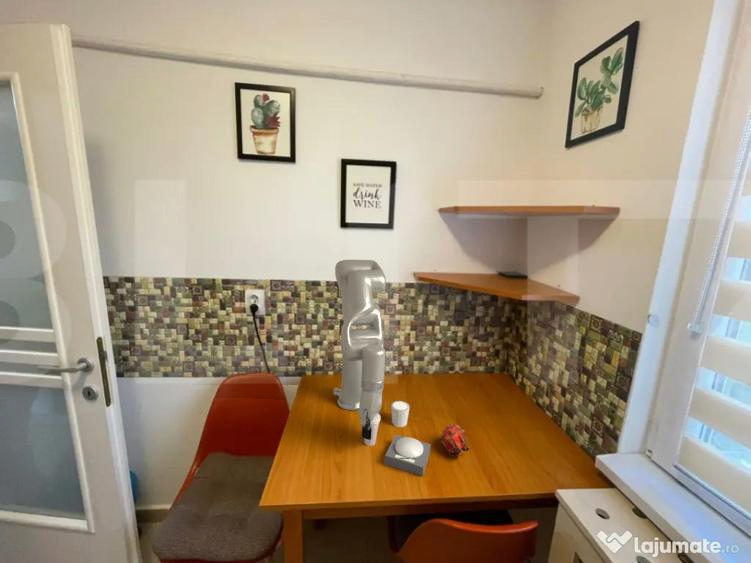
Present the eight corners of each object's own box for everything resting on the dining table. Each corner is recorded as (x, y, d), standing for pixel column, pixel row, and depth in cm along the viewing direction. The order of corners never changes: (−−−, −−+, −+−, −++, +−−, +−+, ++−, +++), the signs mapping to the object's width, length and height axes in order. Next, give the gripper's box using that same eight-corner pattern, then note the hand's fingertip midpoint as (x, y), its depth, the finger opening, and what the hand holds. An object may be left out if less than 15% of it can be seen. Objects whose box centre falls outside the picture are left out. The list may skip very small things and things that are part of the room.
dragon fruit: (451, 441, 111) (457, 470, 100) (433, 428, 110) (437, 456, 99) (468, 426, 109) (476, 455, 97) (449, 413, 108) (455, 440, 96)
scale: (384, 464, 96) (385, 453, 96) (395, 442, 107) (395, 432, 106) (422, 476, 92) (423, 465, 92) (430, 452, 102) (430, 442, 102)
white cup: (389, 417, 121) (390, 400, 120) (406, 417, 122) (407, 400, 120) (391, 428, 114) (392, 410, 113) (410, 428, 115) (411, 410, 114)
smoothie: (381, 438, 108) (383, 401, 106) (375, 450, 102) (377, 411, 100) (364, 434, 110) (366, 397, 108) (357, 445, 104) (359, 407, 102)
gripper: (371, 370, 112) (369, 415, 115) (350, 392, 96) (349, 444, 99) (391, 374, 109) (389, 421, 112) (373, 398, 93) (371, 451, 96)
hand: (370, 431), depth 105 cm, fingers closed on smoothie, 6 cm apart
